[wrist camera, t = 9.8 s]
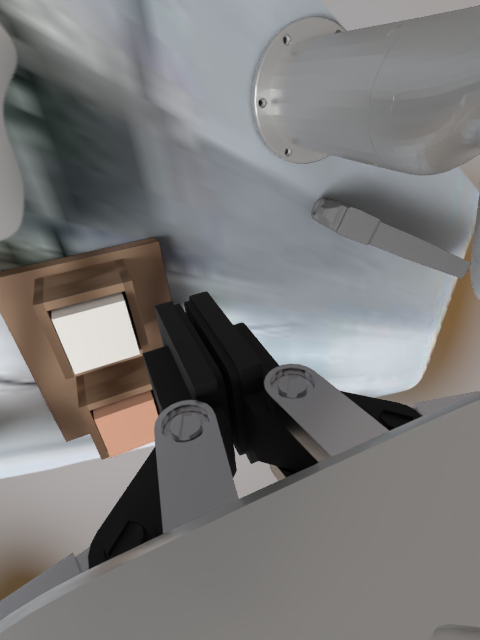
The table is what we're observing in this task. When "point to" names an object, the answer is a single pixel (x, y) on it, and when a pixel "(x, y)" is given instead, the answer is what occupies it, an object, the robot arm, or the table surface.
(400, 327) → the table surface
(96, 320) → the white square block
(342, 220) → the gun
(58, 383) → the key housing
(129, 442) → the terracotta key
